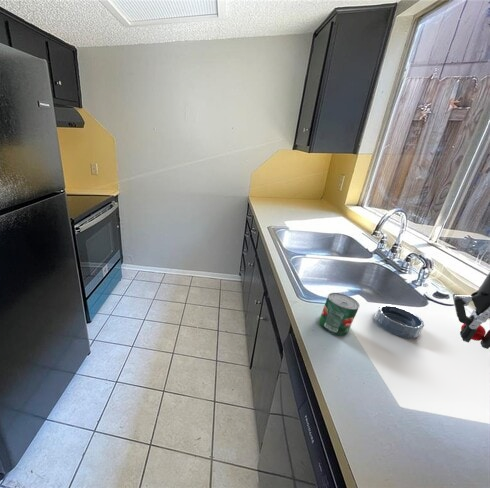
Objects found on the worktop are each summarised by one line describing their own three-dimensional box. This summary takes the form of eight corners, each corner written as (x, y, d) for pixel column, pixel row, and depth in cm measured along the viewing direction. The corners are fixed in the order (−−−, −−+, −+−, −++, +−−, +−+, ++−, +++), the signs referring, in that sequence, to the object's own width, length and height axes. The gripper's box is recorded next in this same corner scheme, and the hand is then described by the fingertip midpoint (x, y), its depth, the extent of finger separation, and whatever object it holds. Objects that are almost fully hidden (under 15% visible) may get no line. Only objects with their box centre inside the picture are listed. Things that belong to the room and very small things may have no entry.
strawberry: (481, 346, 58) (473, 329, 61) (494, 338, 56) (485, 321, 58) (461, 340, 59) (454, 324, 62) (472, 332, 57) (465, 316, 60)
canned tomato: (315, 317, 84) (326, 289, 80) (343, 324, 82) (355, 296, 77) (319, 333, 78) (330, 304, 73) (349, 342, 75) (363, 312, 71)
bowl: (414, 327, 82) (422, 314, 80) (418, 347, 74) (426, 333, 72) (373, 312, 88) (379, 300, 86) (372, 329, 80) (378, 316, 78)
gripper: (569, 281, 49) (515, 348, 56) (465, 258, 57) (429, 320, 64) (592, 299, 44) (529, 371, 51) (474, 272, 51) (434, 337, 59)
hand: (474, 342), depth 57 cm, fingers closed on strawberry, 2 cm apart
